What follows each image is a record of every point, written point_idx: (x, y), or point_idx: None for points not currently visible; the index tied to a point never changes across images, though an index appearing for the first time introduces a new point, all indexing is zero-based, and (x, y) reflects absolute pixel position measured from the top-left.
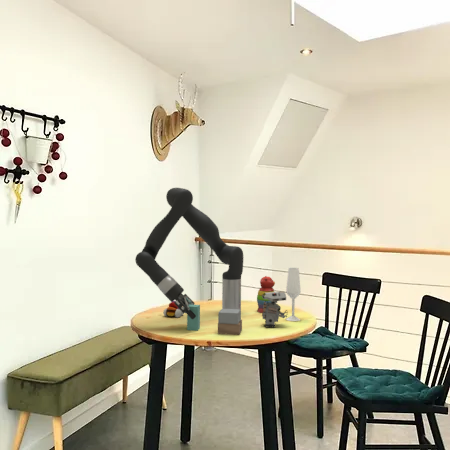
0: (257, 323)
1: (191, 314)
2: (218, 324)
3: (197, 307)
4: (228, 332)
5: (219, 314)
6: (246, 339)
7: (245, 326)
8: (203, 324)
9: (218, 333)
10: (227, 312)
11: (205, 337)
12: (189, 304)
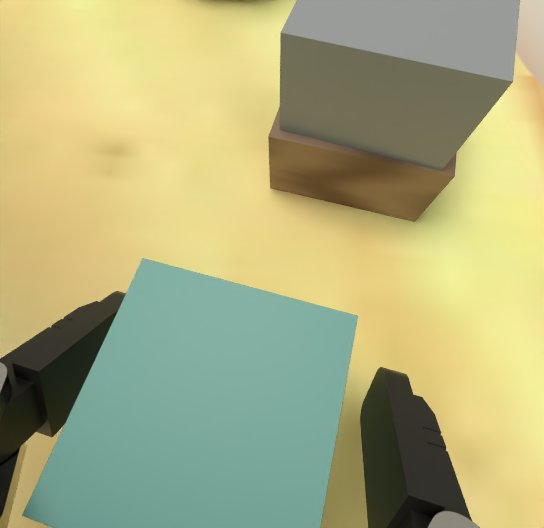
0: (172, 14)
1: (439, 452)
2: (451, 175)
3: (352, 326)
4: None
5: (495, 94)
6: (523, 95)
7: (228, 65)
8: (109, 290)
9: (417, 214)
10: (498, 10)
11: (521, 311)
12: (24, 515)
